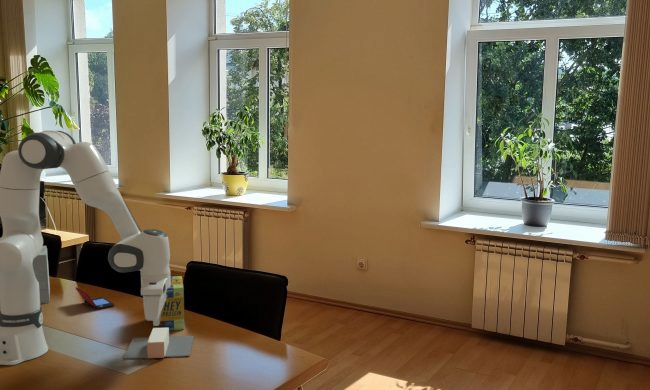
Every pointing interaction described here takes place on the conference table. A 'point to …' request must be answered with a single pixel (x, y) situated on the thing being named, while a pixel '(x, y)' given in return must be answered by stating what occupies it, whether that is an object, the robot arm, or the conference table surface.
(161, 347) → the tall block
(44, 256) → the hard drive box
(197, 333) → the conference table surface
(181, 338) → the mat
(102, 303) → the handheld game console
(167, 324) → the protein box
